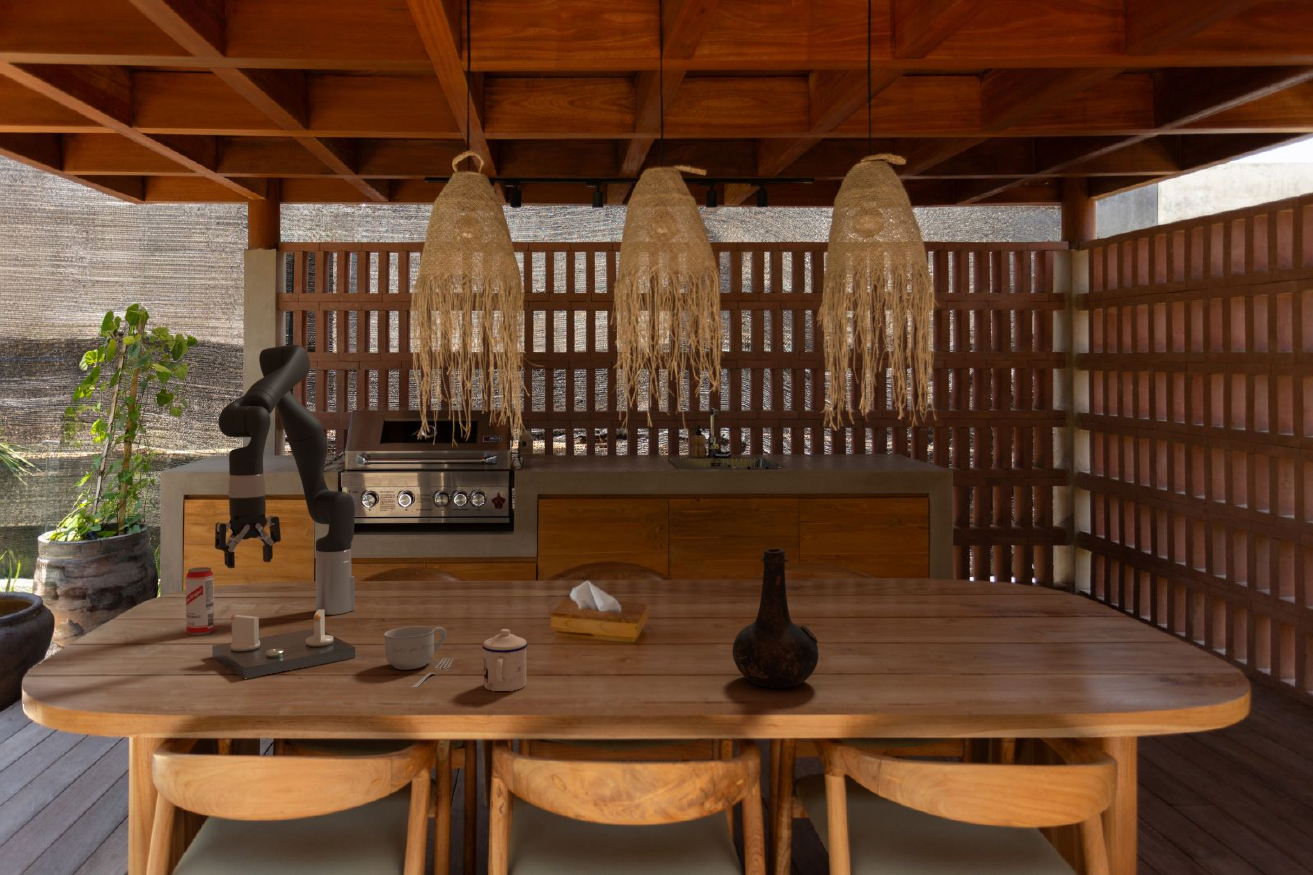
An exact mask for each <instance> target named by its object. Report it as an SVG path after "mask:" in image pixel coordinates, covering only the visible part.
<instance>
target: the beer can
mask: <svg viewBox="0 0 1313 875" xmlns="http://www.w3.org/2000/svg"><path fill="white" fill-rule="evenodd" d="M214 576H215V575H214V573H213V571H212V567H207V566H205V567H203V566H202V567H200V566H199V567H193V568H192V567H191V568H189V569H188V570H187V574H186V575H185V614H186V615H185V618H186V622H185V623H186V624H185V625H186V626H185V628H186V632H187V633H188V634H189V635H190V636H203V635H208V634H211V633H212V632H213V631H214V630H215V627H216V625H215V579H214V578H215V577H214Z"/></svg>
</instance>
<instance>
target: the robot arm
mask: <svg viewBox="0 0 1313 875" xmlns="http://www.w3.org/2000/svg"><path fill="white" fill-rule="evenodd" d="M309 356H310V355H309V353H308V352H307V350H306V348H305V347H303V346H302V345H300V344H288V345H281V346H280V345H278V346H273V347H268V348H264V349H262V350H261V351H260V352H259V356H258V358H259V361H258V362H259V367H260V371H261V373H262V376H263V377H262V378H259V379H258V380H257V381H255V382H254V383H253V384H252V385H251V386H250V387H249V388H248V390H247V391H245V394H244V395H243V396H241V397H240V396H239V398H237V399H235V400H233V401H232V402H230V403H228V404H227V405H226V406H224V408H223V409H222V410H221V412H220V414H219V415H218V416H219V417H218V420H217V422H218V428H219V430H220V432H221V433H222V434H223V435H225V436H226V437H229V438H250V441H249V443H248V444H247V445H246V446H243V447H237V448H234V449H231V450H230V451H229V454H228V468H229V469H228V470H229V480H228V505H229V506H228V508H229V509H228V510H229V522H217V523H215V530H214V531H215V533H214V536H215V537H214V548H215V549H216V550H219V551H222V552H223V553H224V559H223V560H224V565H225V567H227V568H229V569H235V568H236V566H235V564H236V563H235V562H236V561H235V560H236V559H235V557H236V556H235V551H234V550H235V549H236V547H237V545H238V544H240V543H241V541H242V540H245V541H246V540H248V539H259V540H260V541H261V543H262V544H263V545H262V561H263V562H264V563H271V561H272V560H273V557H274V556H273V552H274V551H273V546H274V544H276V543H280V542H281V540H282V534H281V524H280V517H279V516H276V515H270V516H268V517H266V512H267V511H266V510H267V506H266V481H265V475H264V454H265V453H264V452H265V446H266V442H267V438H268V434H269V432H270V427H271V423H272V422H271V413H272V412H273V411H274V409H275V407H276V409H277V411H278V414H279V416H280V417H279V418H280V419H281V422H282V426H283V429H284V432H285V436H286V440H287V441H288V445H289V448H290V451H291V454H292V456H293V458H294V461H295V465H296V468H297V472H298V474H299V477H300V481H301V484H302V488H303V493H304V499H305V502H306V507H307V510H308V514H309V516H310V517H311V519H312V521H313V522H315V523H317V524H320V525H328V531H327V534H326V535H324V536H323V537H318V539H316V541H315V595H316V596H315V598H316V599H315V602H316V604H315V610H316V611H315V613H316V612H317V611H318V610H323V609H324V616H325V615H326V616H328V615H329V616H330V615H331V616H332V615H334V616H335V615H341V614H346V613H349V612H351V611H355V608H356V607H355V603H356V602H355V576H354V575H352V543H353V540H354V535H355V516H356V514H355V513H356V506H355V502H354V501H355V500H354V498H353V497H352V495H351V494H350V493H348V492H345V491H334V490H330V489H329V487H328V485H327V482H326V479H325V475H324V467H325V466H324V465H325V463H326V459H327V456H328V450H329V449H328V448H329V444H328V441H327V440H328V439H327V436H326V433H325V430H324V428H323V425H322V422H321V421H320V420H319V418H318V417H317V416H315V414H313V412H312V411H310V410H309V409H308V408H306V407H305V406H304V405H303V404H302V403H300V401H299V400H298V399H297V397H295V396H294V395H293V393H292V392H291V390H292V389H293V388H294V387H295V386H297V385H298V384H299V383H300V382H302V381H304V379H305V378H306V377H307V376H308V375H309V373H310V369H311V361H310V357H309ZM266 526H269V533H268V532H267V530H265V528H266ZM229 529H230V531H231V532H230V534H229V536H228V537H227V533H228V532H229ZM269 534H270V535H269Z"/></svg>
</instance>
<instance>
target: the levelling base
mask: <svg viewBox="0 0 1313 875" xmlns="http://www.w3.org/2000/svg"><path fill="white" fill-rule="evenodd" d="M325 635H330V636H333V643H331V644H329V645H325V646H307V645H306V642H305V639H306V638H308V637H311V636H314V628H310V629H309V628H308V629H304V630H297V631H293V632H292V631H291V632H286V633H279V634H275V635H269V636H267V635H266V636H262V637H259V641H260V647H259V648H257V649H254V650H249V651H233V650H231V643H232V642H228V643H226V642H225V643H221V644H216V645H214V644H213V645H211V646H212V648H211V649H212V652H211V653H212V657H213V659H215V660H217V661H218V662H219V663H220V664H222V665H223V664H224V666H225V667H227V668H228V669H229V668H230V669H231V670H230V669H229V670H230V671H232V672H233V673H234V672H235V673H234V674H236V673H237V674H238V675H237V674H236V675H237V676H238V677H240V678H241V677H242V678H241V679H243V678H244V679H245V678H251V679H254V678H253V677H256V678H258V677H257V676H261V677H263V676H262V675H266V674H270V673H276V674H279V673H278V672H281V671H286V670H290V669H296V668H301V669H304V667H306V668H310V667H309V666H311V667H315V666H314V665H316V666H320V664H322V665H325V664H326V665H327V664H330V663H331V664H332V663H337V662H341V660H342V661H345V659H347V660H352V659H356V646H354V645H353V644H350V643H348V642H346V641H344V640H342V639H340V638H338V637H336V636H334V635H332V634H330V633H328V632H327V631H325ZM296 670H297V669H296ZM286 672H287V671H286ZM281 673H282V672H281ZM266 676H267V675H266ZM244 679H243V680H244Z"/></svg>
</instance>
